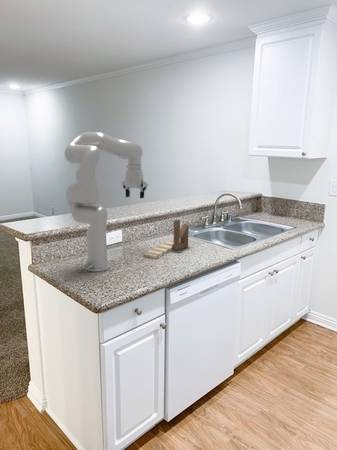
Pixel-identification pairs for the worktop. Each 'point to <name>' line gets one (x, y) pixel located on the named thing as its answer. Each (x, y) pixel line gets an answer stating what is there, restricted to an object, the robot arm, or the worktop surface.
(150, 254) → the wooden slatted rack
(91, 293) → the worktop surface
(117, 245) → the worktop surface
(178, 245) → the wooden block
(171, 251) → the end mark
